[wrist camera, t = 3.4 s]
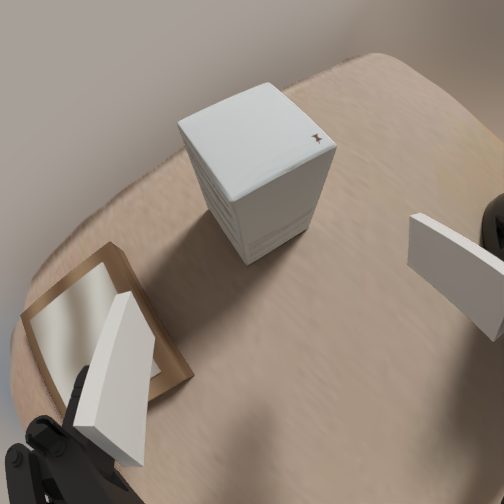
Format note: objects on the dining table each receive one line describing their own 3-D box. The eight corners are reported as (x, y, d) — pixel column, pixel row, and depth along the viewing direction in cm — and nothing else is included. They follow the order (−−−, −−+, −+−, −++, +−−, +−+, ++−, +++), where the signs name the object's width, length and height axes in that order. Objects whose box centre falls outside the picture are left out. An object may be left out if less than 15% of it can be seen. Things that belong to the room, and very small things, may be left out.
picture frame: (123, 251, 27) (108, 240, 24) (194, 374, 23) (185, 379, 20) (37, 318, 25) (18, 314, 22) (90, 432, 21) (73, 439, 18)
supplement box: (268, 173, 29) (271, 78, 17) (310, 228, 27) (342, 145, 15) (206, 207, 28) (173, 119, 16) (244, 268, 26) (230, 204, 14)
